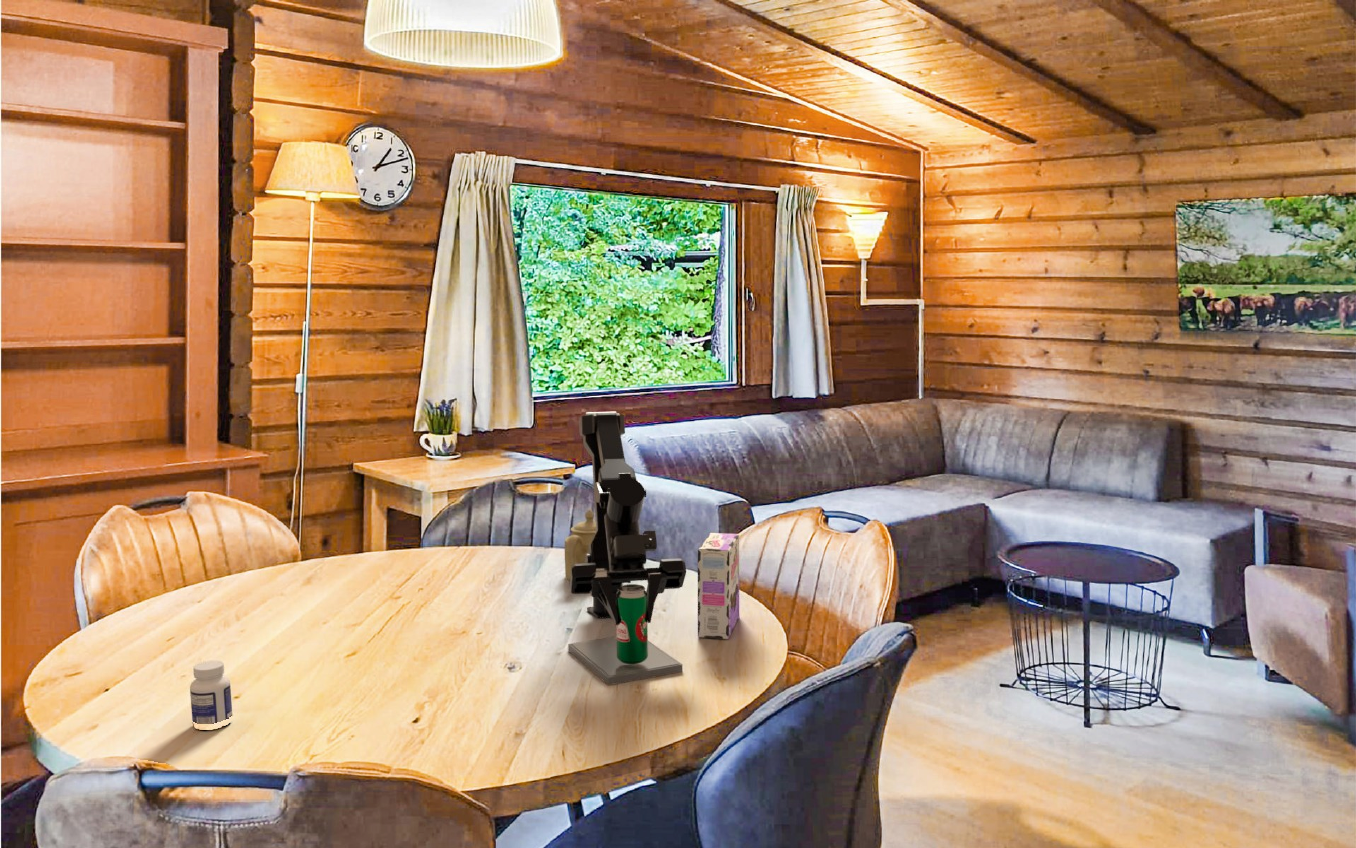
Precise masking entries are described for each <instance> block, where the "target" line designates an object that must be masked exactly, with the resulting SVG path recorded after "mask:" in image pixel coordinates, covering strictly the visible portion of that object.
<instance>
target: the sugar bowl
mask: <svg viewBox="0 0 1356 848" xmlns="http://www.w3.org/2000/svg"><path fill="white" fill-rule="evenodd" d="M584 517H585V520H583V521H581V522H578V523H576V524H575V525H574V526H571V528H570V531H571V534H570V536H568V537H566V538H565V539H564V570H565V571H564V574H565V580H568V581H570V576H571V567H572V566H573V565H574V564H580V563H585V561H586V554H589V545H590V543H591V541H592V539H593V537H594V535H595V534H596V521H595V520H594V518H595V512H594V511H592V509H590V508H589V509H588V510H586V512H585V515H584Z"/></svg>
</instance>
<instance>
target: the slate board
mask: <svg viewBox="0 0 1356 848" xmlns="http://www.w3.org/2000/svg"><path fill="white" fill-rule="evenodd" d="M567 646H568V647H567V649H568V650H567V651H568V652H569V653H571V654H572V655H573V657H575V658H576V659H577V660H579V661H580V662H581V664H583V665H584V666H586V667H587V668H588V669H589V670H590V671H591V672H592V673H593V674H595V675H596V676H597V677H598V678H599V679H601V680H602V681H603V682H604V683H605V684H606V685H608V686H611V685H616V684H617V685H618V684H622V683H627V682H628V683H629V682H633V681H637V680H644V679H651V678H655V677H656V678H657V677H659V676H660V677H661V676H667V675H672V674H677V673H683V664H682V663H681V662H680V661H678V660H676V659H675V658H674V657H672V656H671V655H669V653H667V652H666V651H664V650H662V649H661V648H659V647H658V646H657V645H655V644H654V643H652V642H651V641H649V640H648V657H647V659H646V660H645V661H644V662H641V663H638V664H625V663H622V662H620V661H619V659H618V658H617V638H616V636H610V637H603V638H599V639H598V638H597V639H592V640H585V641H579V642H572V643H568V644H567Z"/></svg>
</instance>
